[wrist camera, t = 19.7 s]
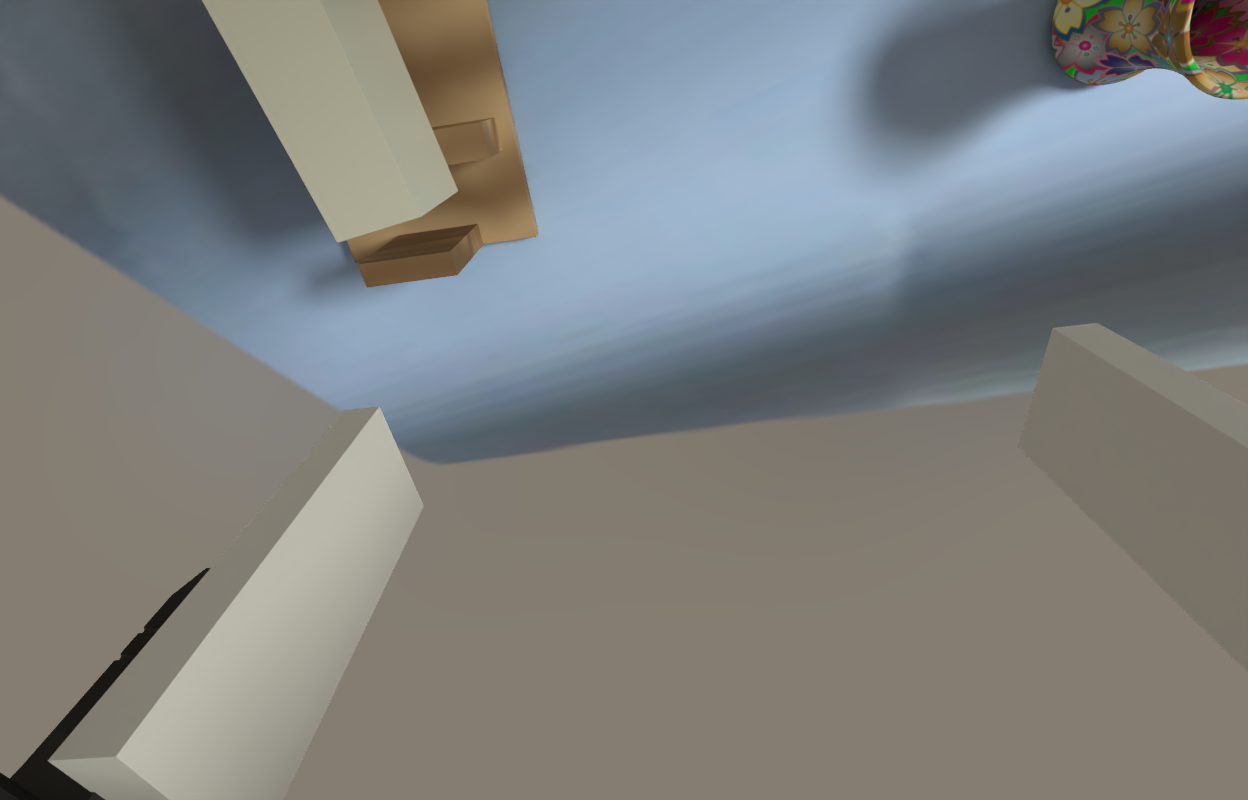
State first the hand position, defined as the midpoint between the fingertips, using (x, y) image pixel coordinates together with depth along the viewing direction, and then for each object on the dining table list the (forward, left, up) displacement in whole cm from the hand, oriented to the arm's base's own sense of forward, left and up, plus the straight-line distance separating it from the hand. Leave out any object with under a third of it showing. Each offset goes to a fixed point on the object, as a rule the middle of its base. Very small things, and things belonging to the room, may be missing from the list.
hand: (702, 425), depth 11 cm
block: (-9, -16, -27) cm, 32 cm away
